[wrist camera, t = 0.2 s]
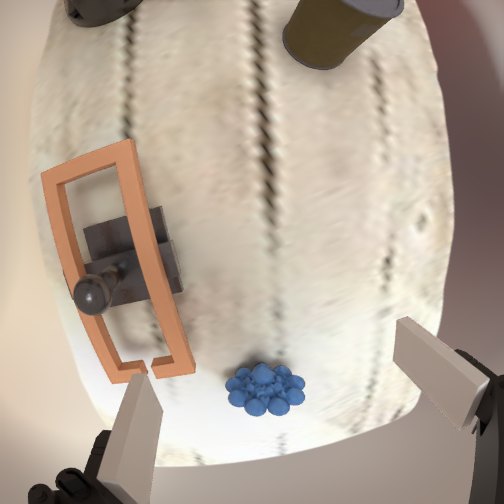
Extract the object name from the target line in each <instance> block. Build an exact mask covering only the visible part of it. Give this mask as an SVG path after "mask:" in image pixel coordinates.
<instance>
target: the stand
mask: <svg viewBox="0 0 504 504" xmlns="http://www.w3.org/2000/svg"><path fill="white" fill-rule="evenodd" d="M149 213H150V217H151V221H152V225H153V229H154V233H155V237H156V240H157V244H158V248H159V252H160V255H161V259H162V262H163V266H164V270H165V273H166V276H167V280H168V283H169V286H170V290H171V293H172V294H174V293H179V292H183V286H182V282H181V279H180V274H181V270H180V267H179V263H178V259H177V256H176V252H175V248H174V244H173V240H170V238H169V234H168V230H167V226H166V222H165V218H164V214H163V210H162V206H160V207H156V208H153V209H149ZM83 230H84V234H85V238H86V241H87V245H88V249H89V252H90V255H91V259H92V260H91V261H88V262H84V263H83V264H84V267H85V270H86V273H87V275H85V276H83V277H81V278H80V279H79V280H78V281H77V282H76V284H75V286H74V289H73V297H72V294H71V291H70V289H69V291H70V294H71V297H72V299H74V303H75V305H76V307H77V308H78V309H79V310H80V311H81V312H82V313H84V314H86V315H88V316H99V315H101V314H103V313H104V312H106V311H107V310H108V308H109V307H112V306H117V305H122V304H127V303H132V302H137V301H142V300H146V299H151V298H150V295H149V291H148V288H147V285H146V282H145V279H144V276H143V272H142V269H141V266H140V262H139V259H138V255H137V252H136V248H135V245H134V241H133V237H132V233H131V229H130V226H129V222H128V217H127V216H124V217H120V218H117V219H114V220H110V221H107V222H104V223H100V224H97V225H94V226H91V227H87V228H85V229H83ZM63 274H64V271H63ZM64 277H65V274H64ZM65 280H66V277H65ZM66 283H67V280H66ZM67 285H68V283H67ZM68 288H69V286H68Z"/></svg>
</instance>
